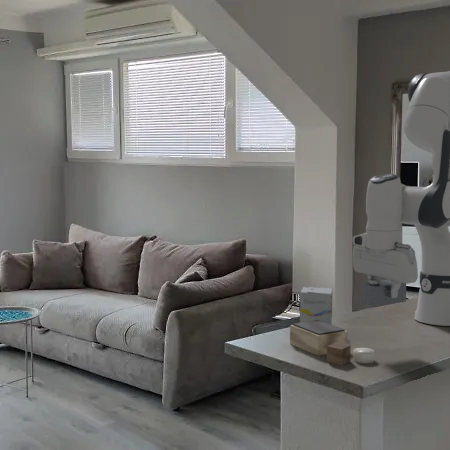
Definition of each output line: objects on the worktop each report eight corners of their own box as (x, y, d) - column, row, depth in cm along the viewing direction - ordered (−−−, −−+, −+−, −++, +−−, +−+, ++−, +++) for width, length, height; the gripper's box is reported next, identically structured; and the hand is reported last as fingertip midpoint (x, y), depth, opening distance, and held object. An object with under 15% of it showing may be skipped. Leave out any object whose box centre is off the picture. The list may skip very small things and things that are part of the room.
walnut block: (335, 358, 168) (336, 342, 167) (350, 361, 165) (350, 345, 165) (326, 362, 165) (327, 345, 164) (341, 365, 162) (341, 349, 162)
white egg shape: (364, 356, 169) (365, 346, 169) (378, 362, 165) (379, 351, 165) (348, 359, 167) (348, 349, 167) (362, 365, 163) (362, 354, 162)
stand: (318, 339, 184) (318, 319, 184) (347, 350, 174) (347, 329, 173) (290, 344, 180) (290, 323, 179) (318, 356, 169) (318, 334, 169)
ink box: (330, 336, 187) (331, 293, 186) (298, 334, 189) (299, 291, 188) (332, 328, 196) (333, 286, 194) (301, 326, 197) (302, 285, 196)
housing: (392, 297, 179) (392, 274, 178) (406, 301, 175) (406, 278, 174) (361, 303, 174) (361, 279, 173) (375, 307, 170) (375, 283, 169)
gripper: (424, 244, 165) (423, 301, 167) (366, 234, 183) (367, 286, 184) (404, 247, 162) (404, 304, 164) (348, 236, 180) (348, 289, 181)
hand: (383, 294), depth 174 cm, fingers closed on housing, 5 cm apart
